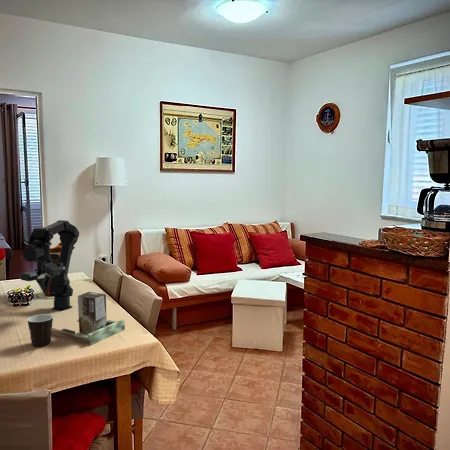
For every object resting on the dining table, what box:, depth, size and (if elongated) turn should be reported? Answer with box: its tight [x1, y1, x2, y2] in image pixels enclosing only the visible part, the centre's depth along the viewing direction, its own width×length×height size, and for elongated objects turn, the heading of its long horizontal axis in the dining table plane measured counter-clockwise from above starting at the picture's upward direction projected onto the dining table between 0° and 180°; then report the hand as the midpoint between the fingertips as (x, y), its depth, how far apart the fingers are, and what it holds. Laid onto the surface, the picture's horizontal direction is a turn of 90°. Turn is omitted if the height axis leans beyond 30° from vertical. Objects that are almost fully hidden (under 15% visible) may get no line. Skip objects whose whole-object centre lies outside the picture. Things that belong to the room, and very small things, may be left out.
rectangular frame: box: [51, 319, 126, 346], centre depth 167 cm, size 18×24×4 cm
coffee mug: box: [26, 313, 54, 348], centre depth 153 cm, size 12×9×10 cm
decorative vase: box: [33, 241, 76, 300], centre depth 217 cm, size 21×23×28 cm
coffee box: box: [77, 291, 108, 336], centre depth 164 cm, size 9×6×16 cm
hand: (44, 292), depth 180 cm, fingers closed
